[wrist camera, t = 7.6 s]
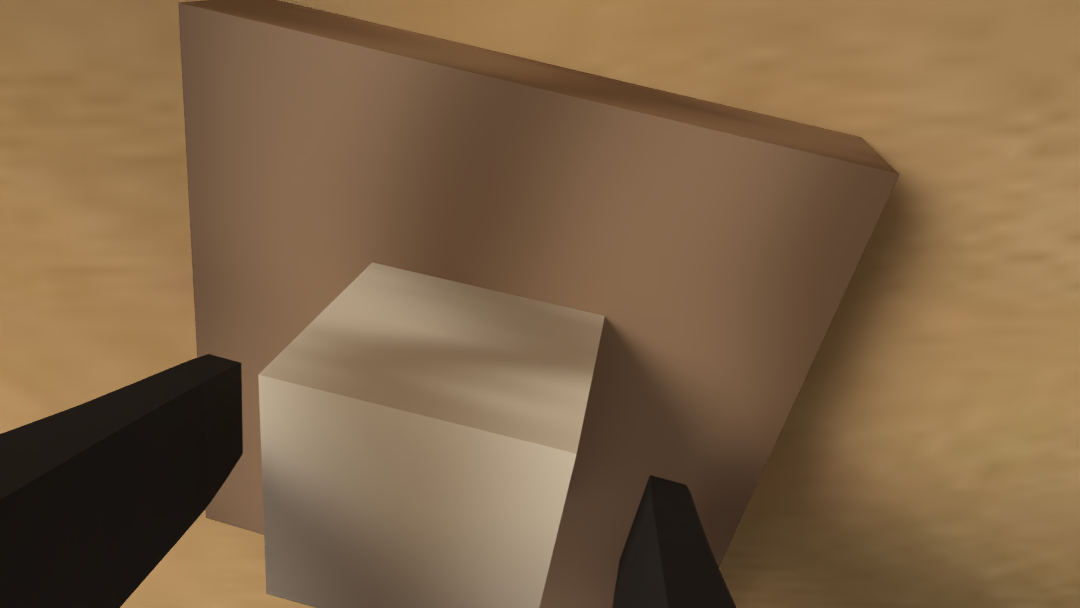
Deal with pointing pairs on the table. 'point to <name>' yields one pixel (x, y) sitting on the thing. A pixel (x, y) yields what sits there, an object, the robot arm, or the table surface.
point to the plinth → (524, 240)
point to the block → (422, 445)
